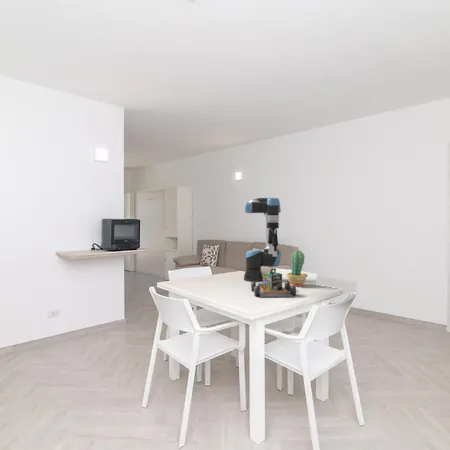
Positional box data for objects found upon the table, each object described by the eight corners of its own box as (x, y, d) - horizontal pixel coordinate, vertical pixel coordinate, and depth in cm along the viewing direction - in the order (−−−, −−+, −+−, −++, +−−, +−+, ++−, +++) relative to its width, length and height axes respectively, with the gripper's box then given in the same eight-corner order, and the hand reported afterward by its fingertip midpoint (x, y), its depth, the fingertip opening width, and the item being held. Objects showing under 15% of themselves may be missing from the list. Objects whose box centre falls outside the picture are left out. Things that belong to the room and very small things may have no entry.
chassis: (250, 288, 217) (250, 280, 217) (287, 288, 218) (287, 279, 218) (256, 297, 193) (256, 287, 193) (297, 297, 194) (297, 287, 194)
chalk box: (273, 289, 211) (273, 266, 211) (282, 291, 204) (282, 268, 203) (262, 290, 206) (262, 267, 206) (271, 293, 199) (271, 269, 198)
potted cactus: (312, 286, 224) (312, 251, 223) (292, 288, 219) (292, 252, 219) (300, 282, 239) (300, 249, 238) (281, 283, 234) (282, 249, 233)
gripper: (263, 221, 217) (263, 252, 217) (270, 222, 192) (270, 257, 193) (274, 221, 217) (274, 252, 218) (283, 222, 192) (283, 257, 193)
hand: (272, 255), depth 205 cm, fingers open, 13 cm apart
